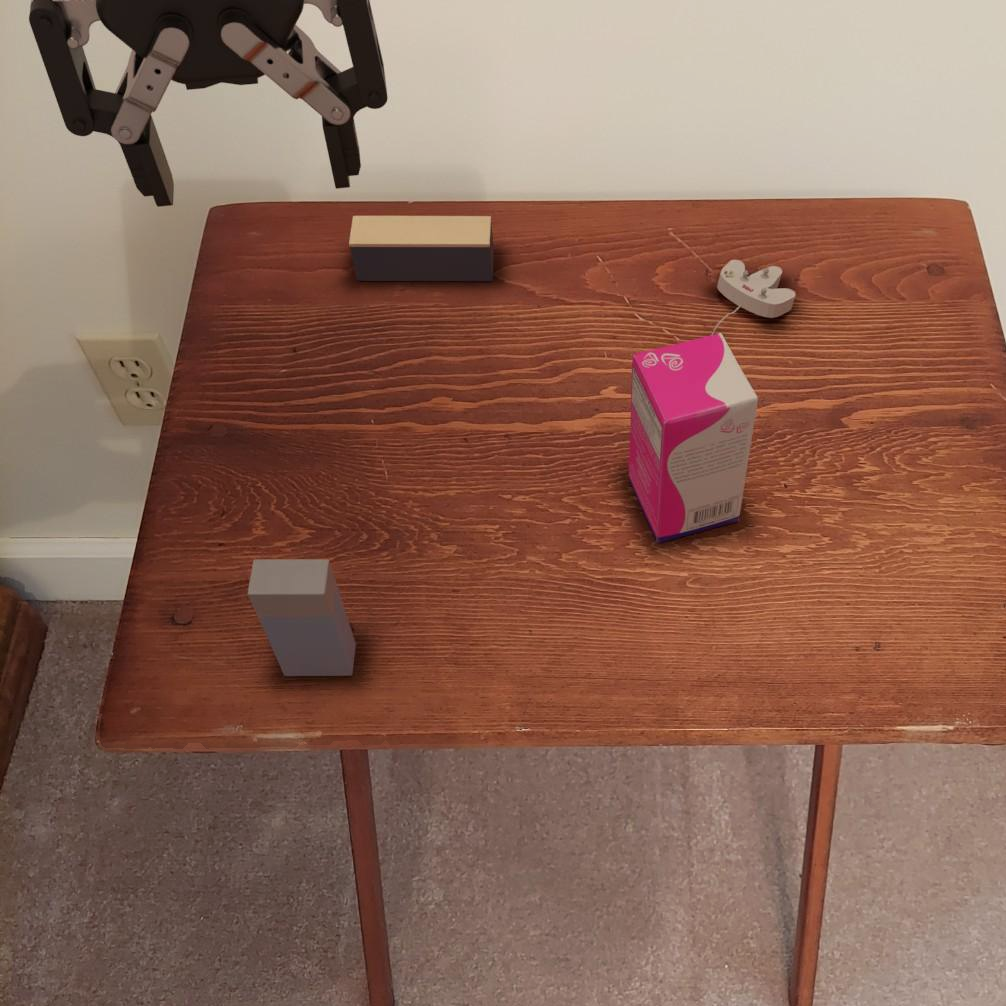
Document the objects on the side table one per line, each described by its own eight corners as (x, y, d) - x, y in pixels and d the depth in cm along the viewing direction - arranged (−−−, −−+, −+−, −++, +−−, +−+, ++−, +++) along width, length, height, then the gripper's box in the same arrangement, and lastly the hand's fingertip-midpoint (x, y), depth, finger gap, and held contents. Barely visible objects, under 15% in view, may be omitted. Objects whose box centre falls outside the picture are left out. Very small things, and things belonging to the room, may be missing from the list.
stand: (356, 281, 87) (348, 243, 84) (360, 253, 88) (352, 215, 85) (492, 281, 87) (489, 244, 84) (494, 253, 88) (491, 215, 85)
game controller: (802, 286, 87) (808, 259, 85) (755, 395, 81) (760, 369, 79) (729, 265, 88) (733, 238, 86) (677, 371, 82) (680, 345, 80)
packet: (283, 676, 69) (246, 594, 61) (288, 643, 70) (253, 558, 62) (352, 676, 69) (324, 594, 61) (356, 643, 70) (329, 558, 62)
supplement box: (707, 454, 78) (724, 328, 69) (740, 522, 75) (763, 401, 66) (624, 475, 77) (630, 350, 68) (655, 545, 74) (666, 425, 65)
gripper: (339, -231, 47) (394, 126, 60) (-33, -208, 45) (109, 152, 59) (350, -136, 43) (406, 223, 57) (-57, -107, 41) (101, 254, 55)
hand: (254, 186), depth 58 cm, fingers open, 8 cm apart
